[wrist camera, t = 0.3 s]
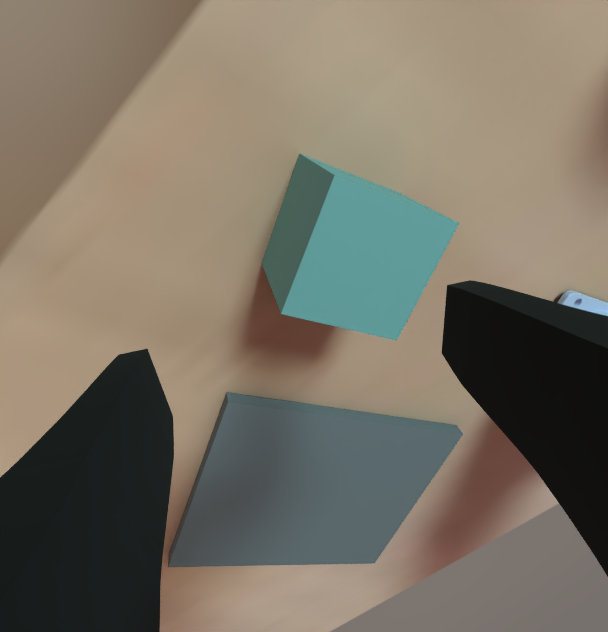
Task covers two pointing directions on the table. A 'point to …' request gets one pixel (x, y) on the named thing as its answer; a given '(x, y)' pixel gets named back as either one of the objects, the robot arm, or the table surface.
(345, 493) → the grey blue flat plate
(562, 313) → the robot arm
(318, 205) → the cube
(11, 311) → the table surface
